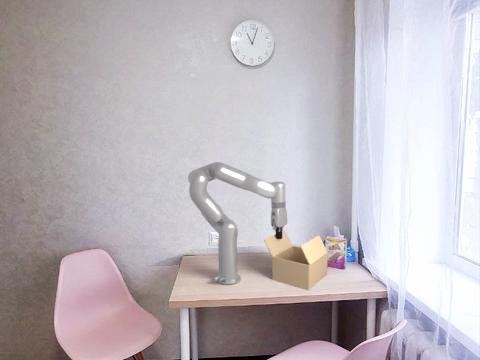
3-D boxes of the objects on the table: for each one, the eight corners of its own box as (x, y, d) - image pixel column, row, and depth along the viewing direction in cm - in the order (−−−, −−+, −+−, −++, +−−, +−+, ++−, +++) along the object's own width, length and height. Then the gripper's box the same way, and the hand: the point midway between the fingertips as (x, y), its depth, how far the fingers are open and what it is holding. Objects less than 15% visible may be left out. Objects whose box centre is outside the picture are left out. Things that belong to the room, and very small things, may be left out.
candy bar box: (324, 266, 175) (324, 238, 173) (326, 263, 179) (326, 235, 177) (344, 270, 169) (345, 240, 167) (346, 266, 173) (347, 238, 172)
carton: (308, 290, 146) (308, 265, 145) (272, 279, 159) (272, 257, 157) (327, 274, 164) (327, 252, 162) (293, 266, 176) (293, 245, 175)
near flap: (309, 265, 145) (310, 264, 145) (299, 246, 147) (300, 245, 147) (326, 252, 162) (327, 252, 162) (318, 235, 164) (319, 235, 164)
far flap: (264, 239, 160) (263, 239, 160) (272, 256, 158) (272, 256, 158) (284, 230, 176) (284, 230, 177) (292, 245, 174) (292, 246, 174)
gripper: (277, 208, 157) (277, 243, 159) (291, 203, 169) (292, 236, 171) (264, 206, 162) (265, 241, 164) (279, 202, 173) (280, 234, 175)
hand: (279, 238), depth 167 cm, fingers closed
